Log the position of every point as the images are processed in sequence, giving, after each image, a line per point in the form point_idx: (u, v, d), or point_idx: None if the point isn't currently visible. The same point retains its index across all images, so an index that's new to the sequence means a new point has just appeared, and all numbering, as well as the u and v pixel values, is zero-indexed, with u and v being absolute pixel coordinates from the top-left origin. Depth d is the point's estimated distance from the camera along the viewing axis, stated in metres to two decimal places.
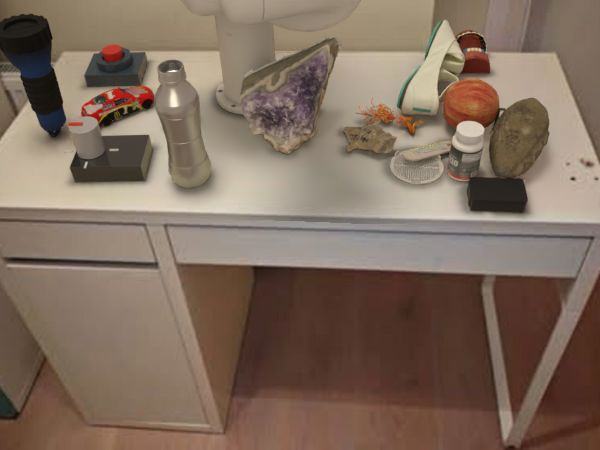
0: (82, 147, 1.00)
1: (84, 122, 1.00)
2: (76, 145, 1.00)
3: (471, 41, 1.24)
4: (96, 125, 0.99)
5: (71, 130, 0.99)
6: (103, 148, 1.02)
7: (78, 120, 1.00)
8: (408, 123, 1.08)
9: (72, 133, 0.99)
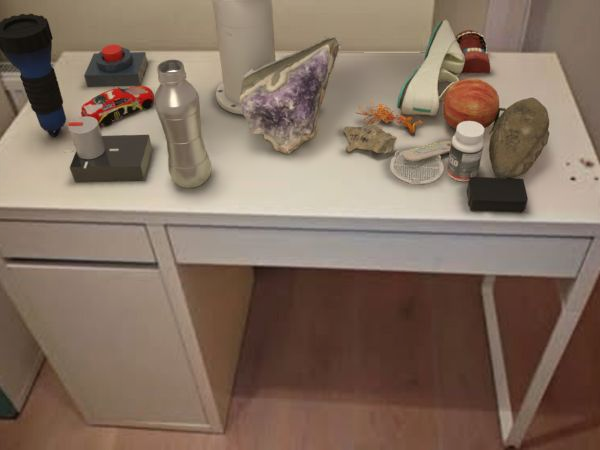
0: (82, 147, 1.00)
1: (84, 122, 1.00)
2: (76, 145, 1.00)
3: (471, 41, 1.24)
4: (96, 125, 0.99)
5: (71, 130, 0.99)
6: (103, 148, 1.02)
7: (78, 120, 1.00)
8: (408, 123, 1.08)
9: (72, 133, 0.99)
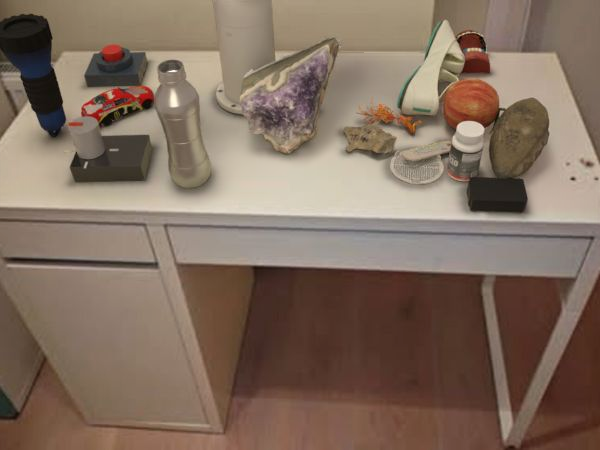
0: (82, 147, 1.00)
1: (84, 122, 1.00)
2: (76, 145, 1.00)
3: (471, 41, 1.24)
4: (96, 125, 0.99)
5: (71, 130, 0.99)
6: (103, 148, 1.02)
7: (78, 120, 1.00)
8: (408, 123, 1.08)
9: (72, 133, 0.99)
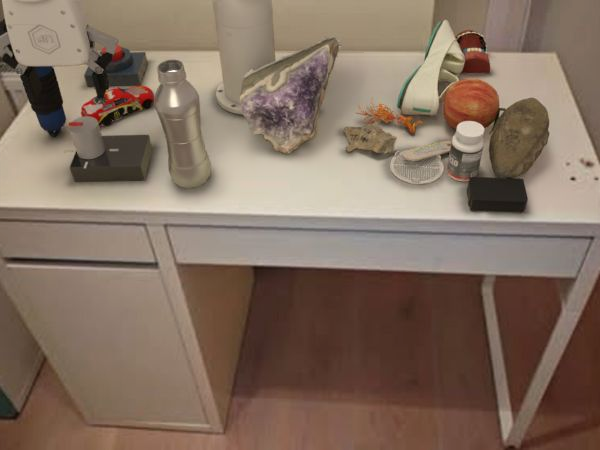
0: (82, 147, 1.00)
1: (84, 122, 1.00)
2: (76, 145, 1.00)
3: (471, 41, 1.24)
4: (96, 125, 0.99)
5: (71, 130, 0.99)
6: (103, 148, 1.02)
7: (78, 120, 1.00)
8: (408, 123, 1.08)
9: (72, 133, 0.99)
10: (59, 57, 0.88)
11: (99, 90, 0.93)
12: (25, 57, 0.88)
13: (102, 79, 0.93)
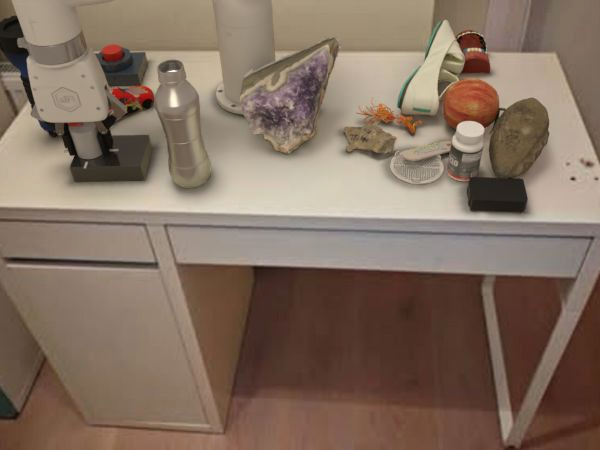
0: (82, 147, 1.00)
1: (84, 122, 1.00)
2: (76, 145, 1.00)
3: (471, 41, 1.24)
4: None
5: (71, 130, 0.99)
6: None
7: None
8: (408, 123, 1.08)
9: (72, 133, 0.99)
10: (80, 115, 0.95)
11: (104, 148, 1.01)
12: (48, 115, 0.95)
13: (106, 138, 1.00)
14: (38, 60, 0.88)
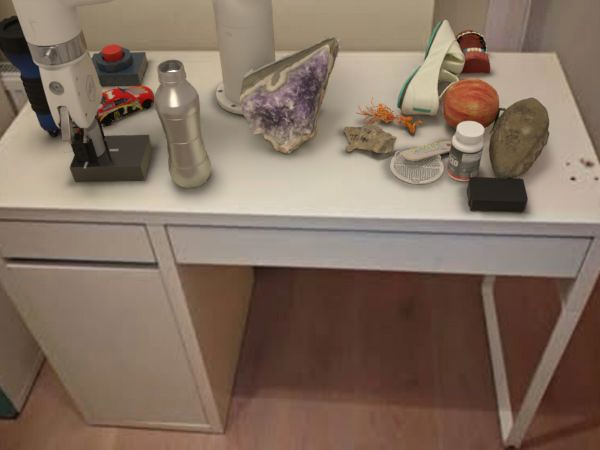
0: (101, 139, 1.01)
1: None
2: (97, 142, 1.00)
3: (471, 41, 1.24)
4: None
5: (90, 130, 0.99)
6: None
7: (74, 128, 0.99)
8: (408, 123, 1.08)
9: (93, 130, 0.99)
10: (97, 98, 0.98)
11: (102, 131, 1.04)
12: (89, 116, 0.95)
13: None
14: (78, 54, 0.89)
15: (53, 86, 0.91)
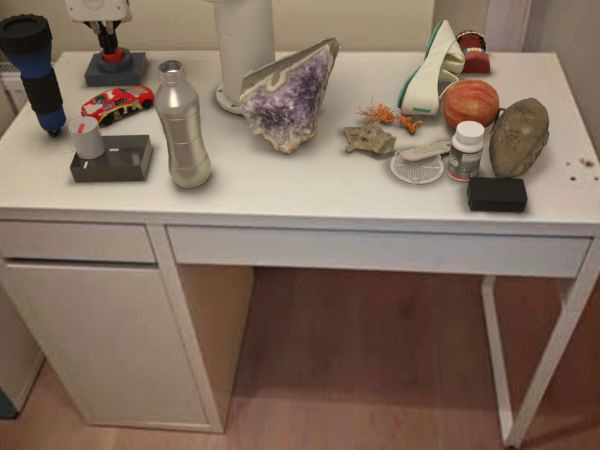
0: (101, 139, 1.01)
1: (79, 124, 1.00)
2: (97, 142, 1.00)
3: (471, 41, 1.24)
4: (87, 116, 1.01)
5: (90, 130, 0.99)
6: None
7: (74, 128, 0.99)
8: (408, 123, 1.08)
9: (93, 130, 0.99)
10: (103, 13, 1.13)
11: (110, 47, 1.19)
12: (76, 13, 1.13)
13: (112, 38, 1.19)
14: None
15: None
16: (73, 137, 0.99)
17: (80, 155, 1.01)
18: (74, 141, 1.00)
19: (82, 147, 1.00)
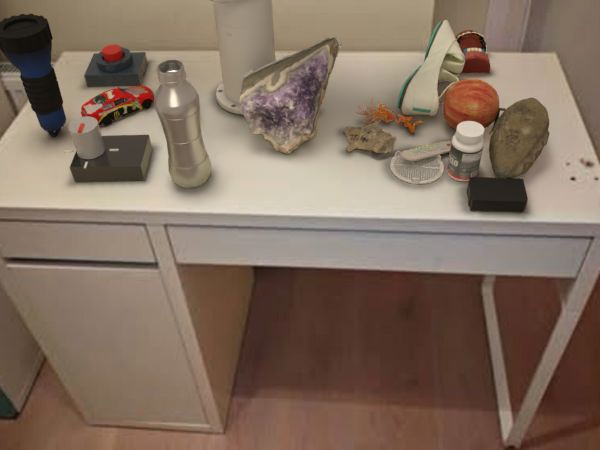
0: (101, 139, 1.01)
1: (79, 124, 1.00)
2: (97, 142, 1.00)
3: (471, 41, 1.24)
4: (87, 116, 1.01)
5: (90, 130, 0.99)
6: None
7: (74, 128, 0.99)
8: (408, 123, 1.08)
9: (93, 130, 0.99)
10: None
11: None
12: None
13: None
14: None
15: None
16: (73, 137, 0.99)
17: (80, 155, 1.01)
18: (74, 141, 1.00)
19: (82, 147, 1.00)
